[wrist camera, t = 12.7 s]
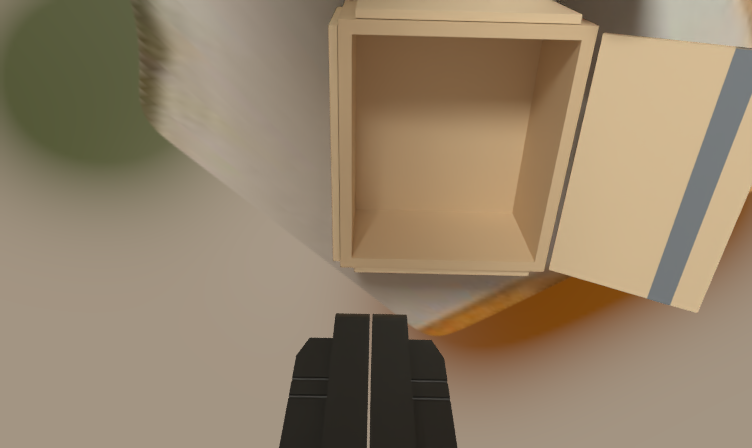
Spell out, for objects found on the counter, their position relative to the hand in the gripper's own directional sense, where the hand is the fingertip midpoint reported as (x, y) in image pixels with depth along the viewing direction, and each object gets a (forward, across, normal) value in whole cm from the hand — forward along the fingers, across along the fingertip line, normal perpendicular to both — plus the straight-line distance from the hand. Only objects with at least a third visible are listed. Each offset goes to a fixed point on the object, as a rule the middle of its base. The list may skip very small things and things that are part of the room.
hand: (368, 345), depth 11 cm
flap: (+23, -13, +6) cm, 27 cm away
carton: (+31, -5, +6) cm, 32 cm away
